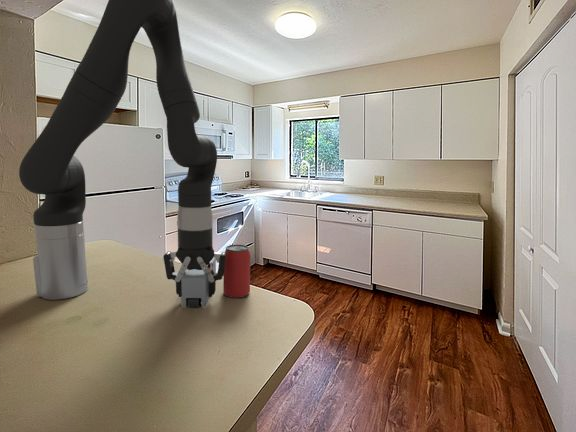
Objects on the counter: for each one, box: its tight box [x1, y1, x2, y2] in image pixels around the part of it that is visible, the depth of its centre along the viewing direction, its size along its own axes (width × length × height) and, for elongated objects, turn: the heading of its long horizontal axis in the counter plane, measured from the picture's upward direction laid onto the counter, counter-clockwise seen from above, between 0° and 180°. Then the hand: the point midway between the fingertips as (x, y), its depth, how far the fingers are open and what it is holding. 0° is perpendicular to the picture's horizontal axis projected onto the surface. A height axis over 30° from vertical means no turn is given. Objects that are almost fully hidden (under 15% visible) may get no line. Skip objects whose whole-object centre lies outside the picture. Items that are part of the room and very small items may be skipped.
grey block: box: [181, 269, 210, 309], centre depth 74 cm, size 5×6×7 cm
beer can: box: [222, 244, 252, 299], centre depth 79 cm, size 7×7×12 cm
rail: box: [187, 298, 201, 309], centre depth 79 cm, size 2×16×2 cm, turn 5°
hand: (196, 295), depth 74 cm, fingers open, 6 cm apart
